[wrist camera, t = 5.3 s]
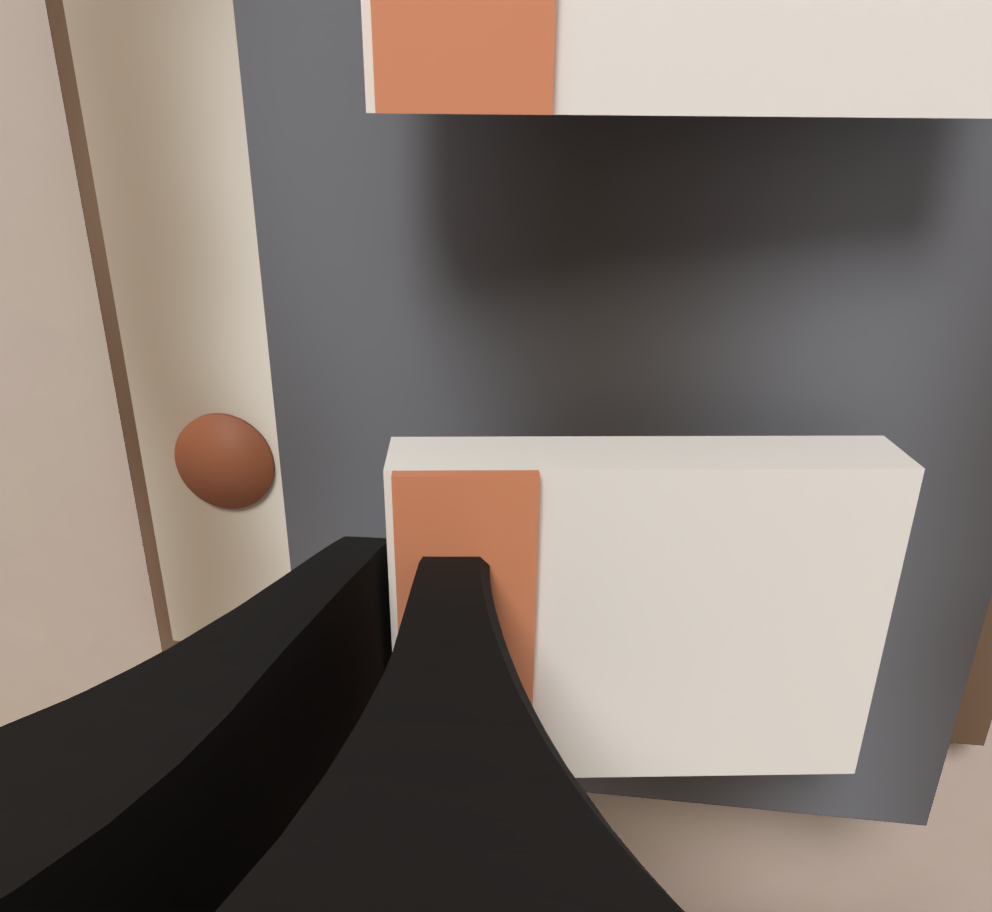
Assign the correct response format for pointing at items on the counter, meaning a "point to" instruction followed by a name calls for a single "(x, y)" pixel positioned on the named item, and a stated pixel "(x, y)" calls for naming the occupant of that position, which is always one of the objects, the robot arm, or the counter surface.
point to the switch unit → (524, 320)
